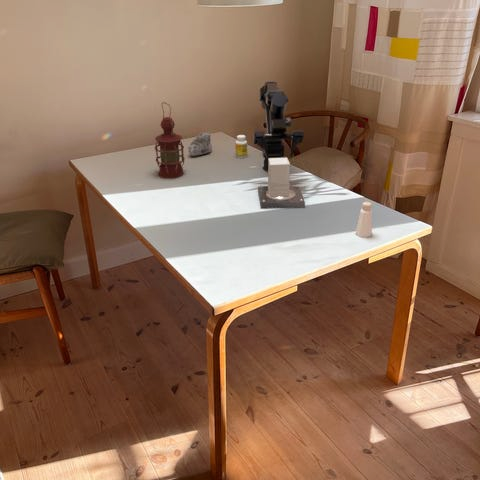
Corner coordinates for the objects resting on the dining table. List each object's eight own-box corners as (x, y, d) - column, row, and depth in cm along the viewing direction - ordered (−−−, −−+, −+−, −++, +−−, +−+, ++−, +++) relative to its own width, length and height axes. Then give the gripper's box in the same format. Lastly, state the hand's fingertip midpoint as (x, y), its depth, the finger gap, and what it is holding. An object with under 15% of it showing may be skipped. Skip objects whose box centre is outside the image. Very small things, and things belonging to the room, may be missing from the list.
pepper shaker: (360, 228, 174) (363, 198, 169) (375, 233, 171) (378, 202, 166) (352, 234, 171) (355, 203, 165) (367, 239, 168) (370, 208, 162)
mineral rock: (189, 158, 239) (188, 137, 234) (183, 152, 248) (182, 131, 243) (216, 155, 243) (215, 134, 238) (209, 148, 252) (208, 128, 247)
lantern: (190, 175, 220) (186, 103, 206) (165, 181, 214) (159, 108, 200) (177, 167, 229) (172, 97, 215) (151, 172, 223) (145, 102, 209)
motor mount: (257, 191, 204) (257, 185, 202) (298, 190, 204) (299, 184, 203) (260, 208, 189) (260, 201, 188) (304, 207, 190) (305, 200, 189)
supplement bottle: (240, 153, 244) (239, 133, 240) (249, 155, 241) (249, 135, 237) (233, 156, 240) (233, 136, 236) (242, 159, 238) (242, 138, 233)
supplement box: (286, 188, 200) (287, 157, 194) (289, 196, 193) (290, 163, 187) (267, 189, 199) (268, 157, 194) (269, 196, 193) (270, 164, 187)
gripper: (254, 110, 194) (255, 147, 190) (304, 109, 195) (306, 146, 190) (252, 125, 205) (254, 161, 201) (300, 124, 206) (302, 160, 201)
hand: (279, 157), depth 198 cm, fingers open, 9 cm apart
